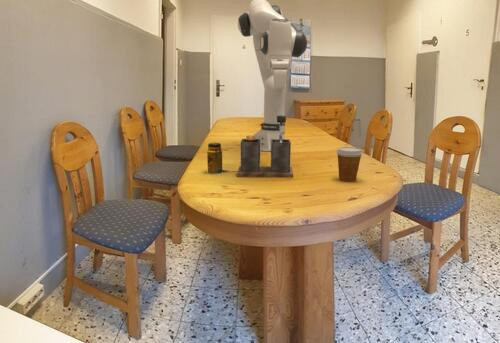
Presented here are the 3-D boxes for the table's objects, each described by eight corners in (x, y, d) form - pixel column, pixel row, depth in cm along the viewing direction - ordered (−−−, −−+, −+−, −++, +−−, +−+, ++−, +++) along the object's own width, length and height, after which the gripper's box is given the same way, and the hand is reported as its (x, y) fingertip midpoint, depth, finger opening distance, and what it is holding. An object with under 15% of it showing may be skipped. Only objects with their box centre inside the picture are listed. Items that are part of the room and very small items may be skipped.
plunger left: (243, 167, 149) (243, 137, 146) (244, 164, 154) (244, 135, 151) (257, 167, 148) (257, 137, 145) (257, 164, 154) (257, 135, 151)
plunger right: (273, 148, 146) (274, 116, 143) (273, 145, 151) (274, 115, 148) (287, 148, 146) (288, 116, 143) (287, 145, 151) (287, 115, 148)
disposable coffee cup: (340, 175, 150) (342, 145, 147) (363, 178, 144) (366, 148, 141) (330, 180, 142) (332, 149, 139) (355, 184, 137) (357, 152, 134)
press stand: (237, 176, 146) (237, 143, 143) (239, 169, 158) (239, 137, 155) (293, 177, 145) (294, 143, 142) (291, 170, 157) (292, 138, 154)
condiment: (203, 172, 153) (202, 143, 150) (217, 168, 160) (217, 141, 157) (215, 175, 149) (215, 145, 146) (230, 171, 155) (230, 143, 152)
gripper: (271, 64, 151) (270, 99, 154) (271, 63, 131) (270, 102, 135) (286, 64, 151) (286, 99, 154) (289, 63, 131) (288, 103, 134)
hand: (278, 101), depth 144 cm, fingers closed
